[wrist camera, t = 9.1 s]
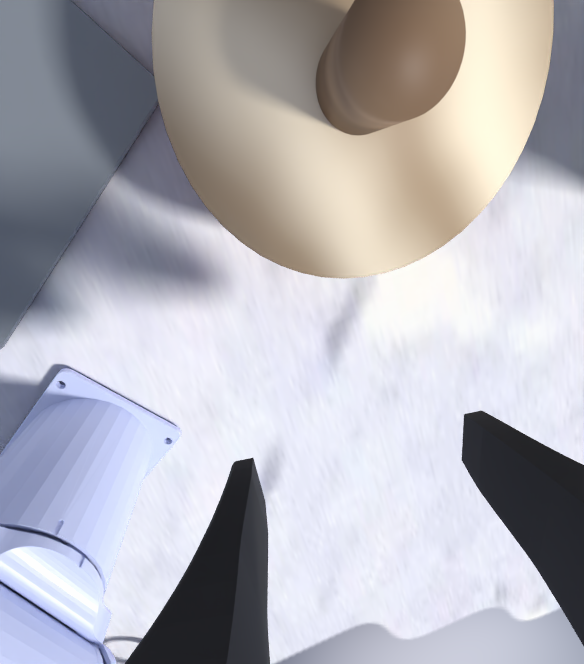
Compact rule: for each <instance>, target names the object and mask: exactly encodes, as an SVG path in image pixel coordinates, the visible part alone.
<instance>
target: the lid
mask: <svg viewBox="0 0 584 664" xmlns="http://www.w3.org/2000/svg"><path fill="white" fill-rule="evenodd" d="M553 18H554V0H154V4H153V19H152V55H153V71H154V77H155V84H156V90H157V96H158V102H159V106H160V110H161V113H162V117H163V121H164V124H165V128H166V132H167V134H168V137H169V139H170V142H171V144H172V147H173V149H174V152H175V154H176V157H177V160H178V162H179V163H180V165H181V167H182V169H183V171H184V173H185V175H186V177H187V178H188V180H189V182H190V184H191V186H192V187H193V189H194V190H195V192H196V193H197V194H198V196H199V197H200V199H201V200H202V202H203V203H204V205H205V206H206V207H207V209H208V210H209V211H210V212H211V213H212V214H213V215H214V216H215V218H216V219H217V220H218V221H219V222H220V223H221V224H222V225H223V227H225V228H226V229H227V230H228V231H229V232H230V233H231V234H233V235H234V236H235V237H236V238H237V239H238V240H239V241H240V242H242V243H243V244H245V245H246V246H247V247H249V248H250V249H252V250H253V251H255V252H256V253H258V254H259V255H261V256H263V257H265V258H267V259H269V260H271V261H273V262H275V263H277V264H279V265H281V266H283V267H286V268H289V269H292V270H295V271H298V272H301V273H305V274H310V275H315V276H320V277H330V278H357V277H367V276H372V275H377V274H382V273H386V272H389V271H392V270H395V269H399V268H402V267H405V266H407V265H409V264H411V263H413V262H415V261H418V260H420V259H422V258H424V257H426V256H427V255H429V254H431V253H432V252H434V251H435V250H437V249H439V248H440V247H442V246H444V245H445V244H446V243H447V242H449V241H450V240H451V239H453V238H454V237H455V236H456V235H458V234H459V233H460V232H462V231H463V230H464V229H465V228H466V227H467V226H468V225H469V224H470V223H471V222H472V221H473V220H474V219H475V218H476V217H477V216H478V215H479V214H480V213H481V212H482V210H483V209H484V208H485V207H486V206H487V205H488V203H489V202H490V201H491V200H492V199H493V197H494V196H495V195H496V193H497V192H498V191H499V189H500V188H501V186H502V185H503V183H504V182H505V180H506V179H507V177H508V176H509V174H510V173H511V171H512V169H513V167H514V165H515V164H516V162H517V160H518V158H519V156H520V154H521V153H522V151H523V149H524V146H525V144H526V142H527V139H528V137H529V135H530V132H531V130H532V128H533V125H534V123H535V120H536V116H537V113H538V110H539V107H540V104H541V101H542V98H543V94H544V89H545V85H546V80H547V75H548V71H549V66H550V58H551V49H552V41H553Z"/></svg>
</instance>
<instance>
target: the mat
mask: <svg viewBox="0 0 584 664" xmlns="http://www.w3.org/2000/svg"><path fill="white" fill-rule="evenodd" d="M158 104H159V102H158V96H157V90H156V84H155V77H154V76H153V75H152V74H151V73H150V72H149V71H148V70H147V69H145V68H144V67H143V66H142V65H141V64H140V63H139V62H138V61H137V60H136V59H135V58H133V57H132V56H131V55H130V54H129V53H128V52H127V51H126V50H125V49H124V48H122V47H121V46H120V45H119V44H118V43H117V42H116V41H115V40H114V39H113V38H111V37H110V36H109V35H108V34H107V33H106V32H105V31H104V30H103V29H102V28H100V27H99V26H98V25H97V24H96V23H95V22H94V21H93V20H92V19H91V18H90V17H88V16H87V15H86V14H85V13H84V12H83V11H82V10H81V9H80V8H79V7H77V6H76V5H75V4H74V3H73V2H72V1H71V0H0V349H1V348H3V347H4V346H5V344H6V343H7V341H8V339H9V338H10V336H11V335H12V333H13V332H14V330H15V328H16V327H17V325H18V324H19V322H20V321H21V319H22V317H23V316H24V314H25V313H26V311H27V310H28V308H29V306H30V305H31V303H32V302H33V300H34V299H35V297H36V295H37V294H38V292H39V291H40V289H41V288H42V286H43V284H44V283H45V281H46V280H47V278H48V277H49V275H50V273H51V272H52V270H53V269H54V267H55V266H56V264H57V262H58V261H59V259H60V258H61V256H62V255H63V253H64V251H65V250H66V248H67V247H68V245H69V244H70V242H71V240H72V239H73V237H74V236H75V234H76V233H77V231H78V229H79V228H80V226H81V225H82V223H83V222H84V220H85V218H86V217H87V215H88V214H89V212H90V211H91V209H92V207H93V206H94V204H95V203H96V201H97V200H98V198H99V196H100V195H101V193H102V192H103V190H104V189H105V187H106V185H107V184H108V182H109V181H110V179H111V178H112V176H113V174H114V173H115V171H116V170H117V168H118V167H119V165H120V163H121V162H122V160H123V159H124V157H125V156H126V154H127V152H128V151H129V149H130V148H131V146H132V145H133V143H134V141H135V140H136V138H137V137H138V135H139V134H140V132H141V130H142V129H143V127H144V126H145V124H146V123H147V121H148V119H149V118H150V116H151V115H152V113H153V112H154V110H155V108H156V107H157V105H158Z"/></svg>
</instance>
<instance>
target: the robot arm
mask: <svg viewBox="0 0 584 664" xmlns="http://www.w3.org/2000/svg"><path fill="white" fill-rule="evenodd" d="M59 381H62V382H64V383H65V385H62V384H60V382H59ZM180 437H181V430H180V428H178V427H177V426H175V425H173V424H171V423H169V422H167V421H166V420H164V419H162V418H160V417H158V416H156V415H155V414H153V413H151V412H149V411H147V410H145V409H144V408H142V407H140V406H138V405H136V404H134V403H133V402H131V401H129V400H127V399H125V398H123V397H121V396H120V395H118V394H116V393H114V392H112V391H110V390H109V389H107V388H105V387H103V386H101V385H99V384H98V383H96V382H94V381H92V380H90V379H88V378H87V377H85V376H83V375H81V374H79V373H77V372H76V371H74V370H72V369H69V368H64V369H61V370H60V371H59V372H58V373H57V374H56V376H55V377H54V379H53V380H52V381H51V383H50V384H49V386H48V387H47V389H46V390H45V391H44V393H43V394H42V396H41V397H40V398H39V400H38V401H37V403H36V404H35V406H34V407H33V408H32V410H31V411H30V413H29V414H28V416H27V417H26V418H25V420H24V421H23V423H22V424H21V425H20V427H19V428H18V430H17V431H16V433H15V434H14V435H13V437H12V438H11V440H10V441H9V443H8V444H7V445H6V447H5V448H4V450H3V451H2V452H1V454H0V664H117V662H116V659H115V657H114V655H113V654H112V652H111V650H110V649H109V648H108V647H106V646H105V645H104V644H103V641H104V638H105V635H106V631H107V628H108V625H109V622H110V618H111V615H112V612H111V611H110V610H109V609H108V608H107V607H106V606H105V604H104V601H103V596H104V593H105V591H106V588H107V585H108V582H109V579H110V576H111V573H112V570H113V567H114V564H115V561H116V558H117V555H118V553H119V550H120V547H121V544H122V541H123V538H124V535H125V532H126V529H127V526H128V523H129V520H130V517H131V515H132V512H133V509H134V506H135V503H136V500H137V497H138V494H139V491H140V488H141V485H142V482H143V480H144V479H145V478H146V477H147V476H148V474H149V473H150V472H151V471H152V470H153V469H154V468H155V466H156V465H157V464H158V463H159V462H160V461H161V460H162V458H163V457H164V456H165V455H166V454H167V453H168V452H169V450H170V449H171V448H172V447H173V446H174V445H175V444H176V442H177V441H178V440H179V439H180ZM166 438H171V439H172V440H167V439H166ZM462 461H463V463H464V465H465V467H466V468H467V470H468V472H469V474H470V476H471V477H472V479H473V481H474V482H475V484H476V486H477V487H478V489H479V490H480V492H481V493H482V495H483V496H484V497H485V499H486V500H487V501H488V503H489V504H490V505H491V507H492V508H493V510H494V511H495V512H496V514H497V515H498V516H499V518H500V519H501V520H502V522H503V523H504V524H505V526H506V527H507V528H508V530H509V531H510V532H511V534H512V535H513V536H514V538H515V539H516V540H517V542H518V543H519V544H520V546H521V547H522V548H523V550H524V551H525V552H526V554H527V555H528V557H529V558H530V559H531V561H532V562H533V564H534V565H535V567H536V568H537V570H538V571H539V573H540V574H541V576H542V578H543V579H544V581H545V582H546V584H547V586H548V587H549V589H550V590H551V592H552V594H553V595H554V597H555V599H556V600H557V602H558V603H559V605H560V607H561V608H562V610H563V612H564V613H565V615H566V617H567V618H568V620H569V622H570V623H571V625H572V627H573V629H574V630H575V632H576V634H577V635H578V637H579V639H580V640H581V642H582V644H583V646H584V465H582V464H580V463H578V462H576V461H574V460H572V459H570V458H568V457H566V456H564V455H562V454H560V453H558V452H556V451H554V450H553V449H551V448H549V447H547V446H545V445H543V444H541V443H539V442H538V441H536V440H534V439H532V438H530V437H528V436H527V435H525V434H523V433H521V432H519V431H518V430H516V429H514V428H512V427H511V426H509V425H507V424H505V423H503V422H502V421H500V420H498V419H496V418H494V417H493V416H491V415H489V414H487V413H485V412H483V411H478V412H473V413H468V414H464V427H463V447H462ZM267 588H268V527H267V516H266V505H265V499H264V495H263V492H262V488H261V485H260V481H259V477H258V474H257V470H256V466H255V463H254V459H253V458H250V459H245V460H240V461H236V462H234V464H233V465H232V468H231V471H230V474H229V477H228V480H227V483H226V486H225V488H224V491H223V494H222V496H221V499H220V501H219V504H218V506H217V508H216V511H215V513H214V515H213V518H212V520H211V522H210V525H209V527H208V529H207V531H206V533H205V535H204V537H203V539H202V541H201V543H200V545H199V547H198V549H197V551H196V553H195V555H194V557H193V559H192V561H191V563H190V565H189V566H188V568H187V570H186V572H185V573H184V575H183V577H182V579H181V580H180V582H179V584H178V586H177V587H176V589H175V591H174V592H173V594H172V595H171V597H170V599H169V600H168V602H167V603H166V605H165V606H164V608H163V610H162V611H161V613H160V614H159V616H158V617H157V619H156V620H155V622H154V623H153V625H152V626H151V628H150V629H149V631H148V632H147V633H146V635H145V636H144V638H143V639H142V640H141V642H140V643H139V645H138V646H137V647H136V649H135V650H134V652H133V653H132V654H131V656H130V657H129V659H128V660H127V661H126V663H125V664H270V657H269V642H268V623H267Z"/></svg>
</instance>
